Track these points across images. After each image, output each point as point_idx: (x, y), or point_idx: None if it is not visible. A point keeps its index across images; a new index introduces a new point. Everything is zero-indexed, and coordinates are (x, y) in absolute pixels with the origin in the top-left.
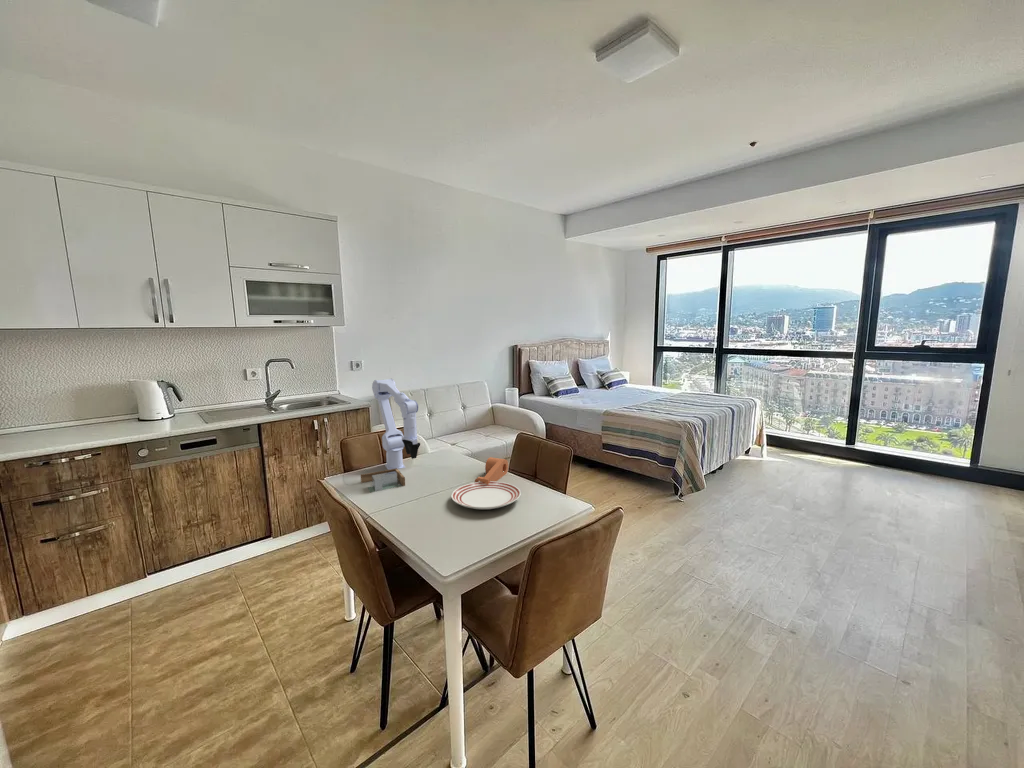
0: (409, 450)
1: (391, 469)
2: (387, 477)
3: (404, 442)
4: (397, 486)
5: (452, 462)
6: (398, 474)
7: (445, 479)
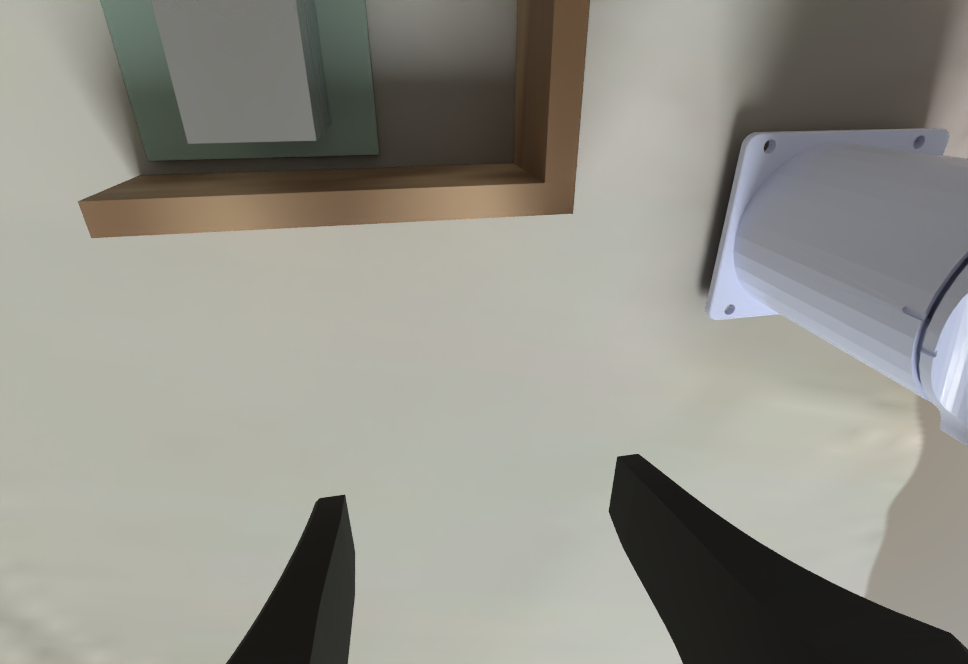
0: (642, 537)
1: (565, 128)
2: None
3: (796, 656)
4: (142, 105)
5: (595, 625)
6: (354, 185)
7: (226, 561)
